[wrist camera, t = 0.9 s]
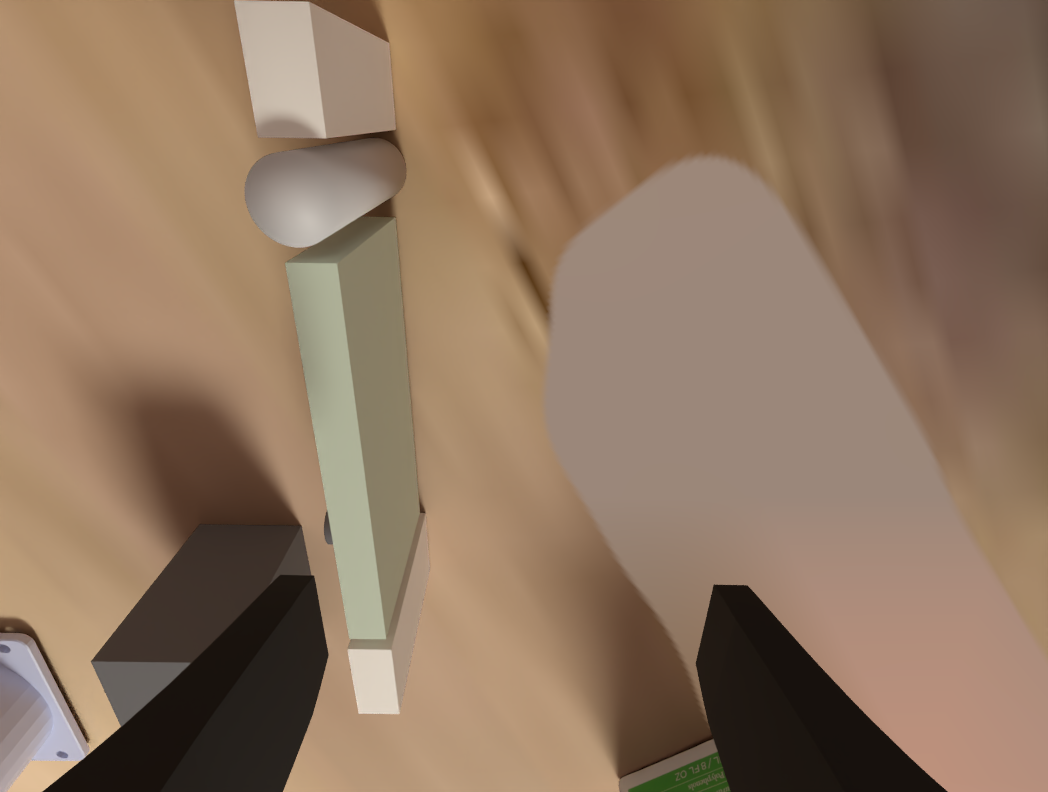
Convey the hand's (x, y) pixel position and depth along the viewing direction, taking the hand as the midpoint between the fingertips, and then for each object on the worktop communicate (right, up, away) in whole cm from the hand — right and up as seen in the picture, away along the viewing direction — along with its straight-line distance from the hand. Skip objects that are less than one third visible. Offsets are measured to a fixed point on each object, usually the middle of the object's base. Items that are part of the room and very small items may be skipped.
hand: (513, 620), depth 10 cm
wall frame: (-4, +5, +8) cm, 10 cm away
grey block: (-10, -3, +12) cm, 16 cm away
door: (-4, +5, +8) cm, 10 cm away
